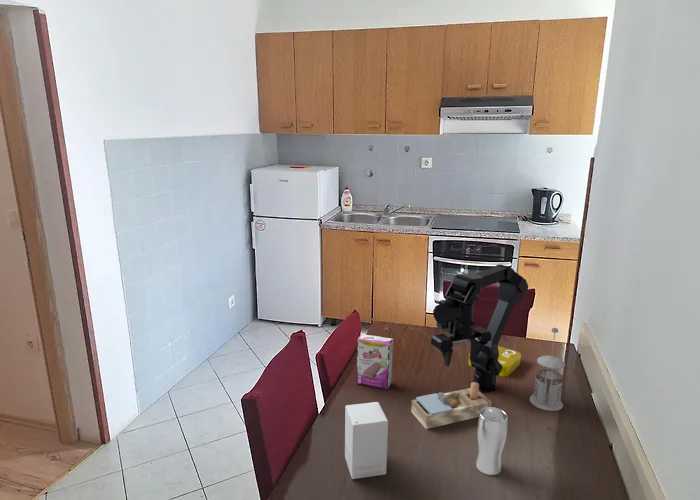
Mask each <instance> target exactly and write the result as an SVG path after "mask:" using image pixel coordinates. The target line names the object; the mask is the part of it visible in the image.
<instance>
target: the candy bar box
mask: <svg viewBox="0 0 700 500" xmlns="http://www.w3.org/2000/svg"><path fill="white" fill-rule="evenodd" d="M356 341H357V343H356V376H355V378H356V379H355V380H356V384H359V385H363V386H369V387H374V388H377V389H378V388H379V389H382V390H383V389H385V390H389V388H390V386H391V384H392V379H393V378H392V374H393V351H394V350H393V349H394V339H393V338H389V337H384V336H378V335H373V334H371V335H370V334H366V333H360V335H359V337H357V339H356Z"/></svg>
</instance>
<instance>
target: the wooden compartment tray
mask: <svg viewBox="0 0 700 500" xmlns="http://www.w3.org/2000/svg"><path fill="white" fill-rule="evenodd" d="M470 389H471V387H469V388H464V389H460V390H454V391H449V392H444V393H443V394H444V395H445V396H446V397H447V404H448V405H449V406H450V407H451V408H452V411H449V412H445V413H440V414H436V415H430V413H429V412H428V411H427V410H426V409H425V408H424V407H423V406H422V405H421V404H420V403H419V402H418V401H417V399H416V398H415V399H411V407H410V408H411V409H410V411H411V414H412V415H414V417H415V419H417V421H419V423H420V424H421V425H422V426H423V427H424V429H425V430H428V429H429V430H430V429H434V428H438V427H441V426H445V425H450V424H453V423H458V422H463V421H466V420H472V419H475V418H479V414H480V410H481V409H482V408H485V407H492V406H493V405H492V404H493V403H492V401H491V400H490V399H489V398H488V397H486V396H485V395H484V394H483V393H482V392H481V391H479V392H478V399H477V400H471V399H470Z"/></svg>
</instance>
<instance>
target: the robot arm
mask: <svg viewBox="0 0 700 500" xmlns="http://www.w3.org/2000/svg"><path fill="white" fill-rule="evenodd" d="M497 283H498V284H499V285H498V288H497V290H498V296H499V297H498V298H499V299H498V302H497V304H496V307H495V308H494V312H492V313H493V314H492V316H491V318H490V321H489V324H488V326H487V328H484V327H482V326H475V325H476V321H475V320H474V305H475V302H478V301H479V297H477V296H478V295H479V294H481V293H482V291H483V289H484V288H486V287H488V286H491V285H493V284H497ZM528 289H529V284H528V282H527V279H526V278H525V277H523V276H522V275H520V273H517V272H516V271H515V270H514V269H513V268H512V267H511V266H508V265H505V264H501V263H500V264H496V265H495V266H493V267H490V268H488V269H485V270H481V271H479V272H477V273H459V274H456V275H455V276H454V277H453V279H452V280H451V282H450V284H449V286H448V288H447V290H446V292H445V294H444V298H446V299H441V300H439V302H438V305H436V306H435V307H434V309H433V310H432V314H433V315H432V316H433V318H434V320H435V322H436V327H437V329H438V330H441V331H442V332H444V331H446V332H447V334H449V335H451V336H447V335H446V334H445V333H439V334H434V335H432V336H431V338H430V344H431V345H432V346H434V347H435V348H436V349H438V350H439V351H440V352H441V354H442V359H443V360H444V364H445V366H446V367H447V368H449V367H450V366H451V362H452V357H453V352H454V349H453V346H454V343H458V342H459V343H460V342H464V341H468V340H469V342H470V351H469V353H470V357H469V356H468V359H469V358H470V362H471V366H470V367H472V368H474V369H475V370H474V373H473V380H471V382H470V384H471V383H472V382H477V383H478V384H479V392H480V393H486V392H492V391H496V390H499V387H498V386H497V385H496V383H497V376H499V373H501V371H502V367H503V366H502V365H501V364H500V363H499V362H498V357H499V351H498V346H499V343H500V341H501V338H502V337H503V333H504V330H505V328H506V326H507V323H508V321H509V319H510V316H511V313H512V311H513V309H514V307H515V305H516V304H517V303H519V302H520V301H521V300H523V299H524V296H525V294H526V293H527V292H528V291H529V290H528ZM473 326H475V327H473Z"/></svg>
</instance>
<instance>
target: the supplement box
mask: <svg viewBox="0 0 700 500" xmlns="http://www.w3.org/2000/svg"><path fill="white" fill-rule="evenodd" d="M344 414H345V416H344V419H345V420H344V422H345V423H344V424H345V425H344V426H345V427H344V458H345V461H346V465H347V468H348V470H349V473H350V474H349V475H350V477H351V479H352V480H356V479H363V478H371V477H376V476H385V475H387V461H388V458H387V457H388V435H389V434H388V433H389V432H388V431H389V430H388V429H389V420H388V419H387V416H386V414H385V412H384V411H383V409H382V407H381V405H380V403H379V401H373V402H367V403H366V402H365V403H355V404H346V405H345V410H344Z"/></svg>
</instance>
